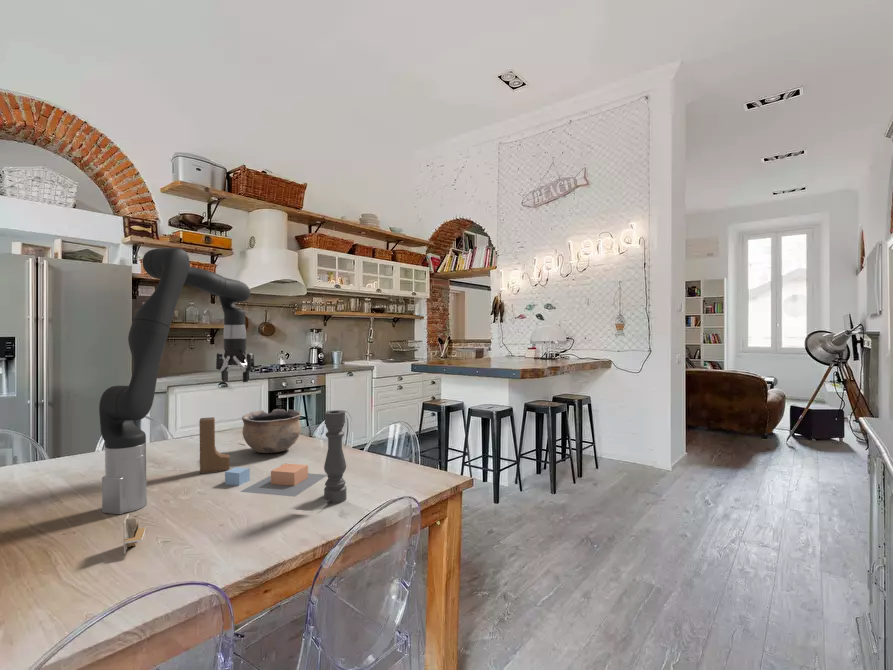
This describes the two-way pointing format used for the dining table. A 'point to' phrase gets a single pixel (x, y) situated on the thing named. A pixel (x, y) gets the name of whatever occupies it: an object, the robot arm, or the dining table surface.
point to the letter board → (283, 486)
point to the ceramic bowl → (271, 430)
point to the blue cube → (237, 476)
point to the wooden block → (210, 449)
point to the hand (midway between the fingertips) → (235, 381)
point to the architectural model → (131, 532)
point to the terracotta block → (289, 474)
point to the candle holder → (335, 458)
